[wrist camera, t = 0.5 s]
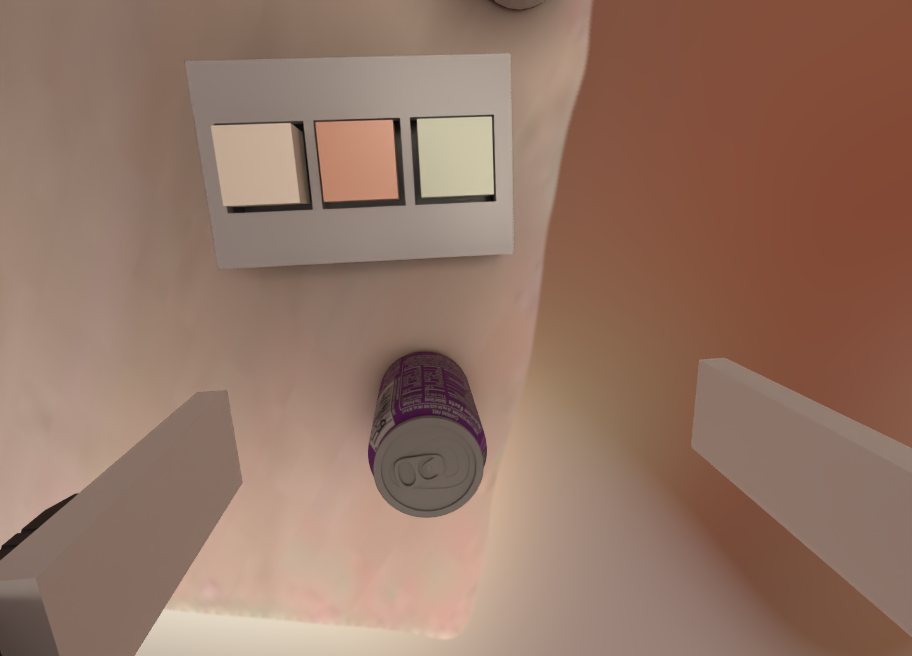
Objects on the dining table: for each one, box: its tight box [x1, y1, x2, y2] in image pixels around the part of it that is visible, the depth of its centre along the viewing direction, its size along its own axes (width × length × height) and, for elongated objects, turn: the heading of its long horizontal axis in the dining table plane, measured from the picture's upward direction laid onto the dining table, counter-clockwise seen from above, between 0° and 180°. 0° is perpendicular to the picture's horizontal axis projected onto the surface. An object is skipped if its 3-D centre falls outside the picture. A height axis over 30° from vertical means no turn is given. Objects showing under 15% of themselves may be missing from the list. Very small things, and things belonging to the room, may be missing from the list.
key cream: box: [211, 123, 311, 207], centre depth 29 cm, size 4×4×3 cm
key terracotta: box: [315, 120, 400, 203], centre depth 29 cm, size 4×4×3 cm
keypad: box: [184, 53, 514, 269], centre depth 32 cm, size 12×19×5 cm, turn 93°
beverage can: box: [368, 352, 487, 518], centre depth 32 cm, size 7×7×12 cm
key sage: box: [417, 117, 494, 199], centre depth 30 cm, size 4×4×3 cm
